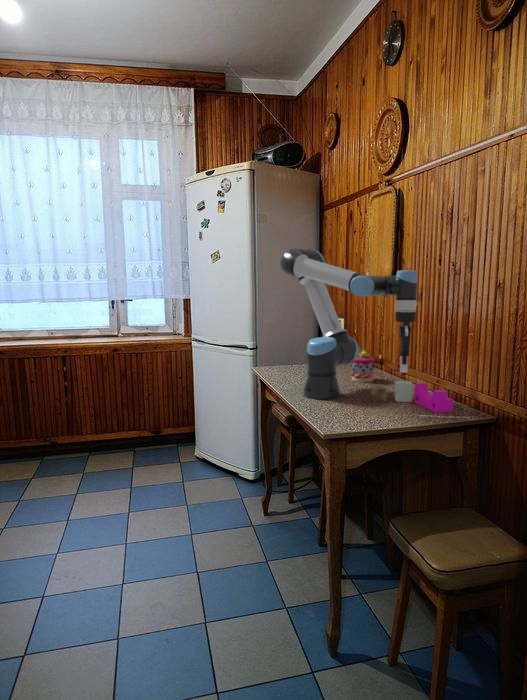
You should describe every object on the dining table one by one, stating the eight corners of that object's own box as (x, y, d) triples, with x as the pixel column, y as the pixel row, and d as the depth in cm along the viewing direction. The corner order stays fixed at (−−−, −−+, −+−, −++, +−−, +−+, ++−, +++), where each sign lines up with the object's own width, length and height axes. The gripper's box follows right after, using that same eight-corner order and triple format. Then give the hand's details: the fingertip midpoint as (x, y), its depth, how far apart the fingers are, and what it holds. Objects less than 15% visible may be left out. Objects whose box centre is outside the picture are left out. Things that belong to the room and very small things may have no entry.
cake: (378, 382, 216) (379, 350, 214) (360, 384, 211) (360, 351, 209) (364, 378, 225) (365, 347, 223) (346, 380, 221) (346, 348, 219)
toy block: (452, 411, 166) (453, 391, 164) (436, 413, 164) (437, 392, 163) (429, 401, 180) (429, 382, 179) (414, 402, 179) (415, 383, 178)
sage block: (395, 401, 180) (396, 383, 179) (394, 398, 186) (395, 380, 185) (412, 402, 179) (412, 384, 178) (410, 398, 185) (410, 381, 184)
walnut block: (373, 401, 181) (373, 388, 180) (370, 398, 186) (370, 386, 185) (386, 401, 181) (386, 388, 180) (383, 398, 186) (383, 386, 185)
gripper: (418, 312, 171) (415, 375, 174) (413, 310, 183) (411, 369, 187) (397, 312, 172) (394, 375, 175) (394, 310, 185) (392, 368, 188)
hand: (403, 372), depth 181 cm, fingers closed
